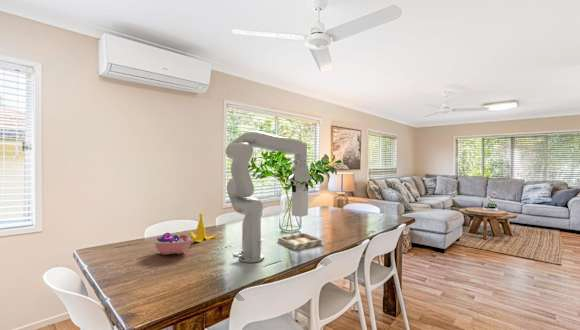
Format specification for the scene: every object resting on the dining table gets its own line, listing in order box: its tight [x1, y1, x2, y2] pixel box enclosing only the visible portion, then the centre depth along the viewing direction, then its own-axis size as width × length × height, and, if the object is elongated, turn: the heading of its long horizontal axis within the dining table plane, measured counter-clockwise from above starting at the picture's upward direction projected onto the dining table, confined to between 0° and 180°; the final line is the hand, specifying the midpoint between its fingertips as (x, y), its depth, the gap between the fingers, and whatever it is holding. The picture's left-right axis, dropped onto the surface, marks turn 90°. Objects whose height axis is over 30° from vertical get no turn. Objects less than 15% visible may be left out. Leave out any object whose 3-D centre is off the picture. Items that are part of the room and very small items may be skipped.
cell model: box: [153, 232, 193, 256], centre depth 151 cm, size 17×20×11 cm
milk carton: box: [291, 183, 309, 218], centre depth 170 cm, size 7×7×19 cm
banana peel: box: [189, 213, 219, 243], centre depth 179 cm, size 17×19×17 cm
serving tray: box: [277, 232, 323, 251], centre depth 171 cm, size 20×18×3 cm
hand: (300, 191), depth 170 cm, fingers closed on milk carton, 8 cm apart
